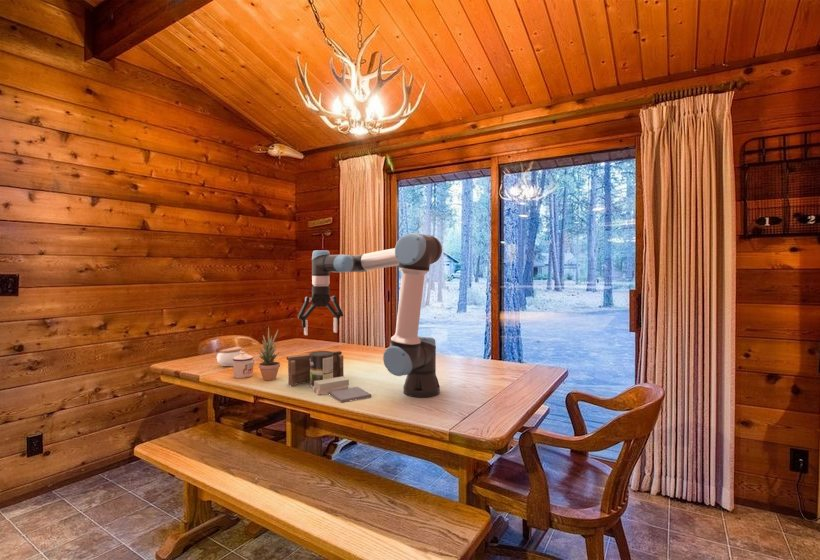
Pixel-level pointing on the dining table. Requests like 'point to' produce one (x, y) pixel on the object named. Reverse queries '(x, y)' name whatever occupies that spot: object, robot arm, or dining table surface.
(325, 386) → the upper offcut
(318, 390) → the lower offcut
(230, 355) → the lidded bowl
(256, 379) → the dining table surface
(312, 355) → the coffee can
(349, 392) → the slate mat
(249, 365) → the teacup with lid
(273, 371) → the potted plant
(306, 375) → the walnut rack
